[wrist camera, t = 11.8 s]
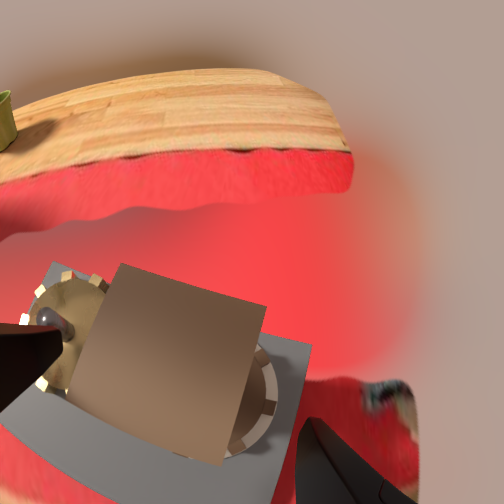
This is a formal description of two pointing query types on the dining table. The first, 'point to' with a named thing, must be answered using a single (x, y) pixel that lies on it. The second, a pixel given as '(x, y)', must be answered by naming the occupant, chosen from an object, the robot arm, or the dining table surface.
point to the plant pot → (6, 121)
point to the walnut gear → (174, 366)
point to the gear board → (156, 458)
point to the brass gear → (66, 322)
